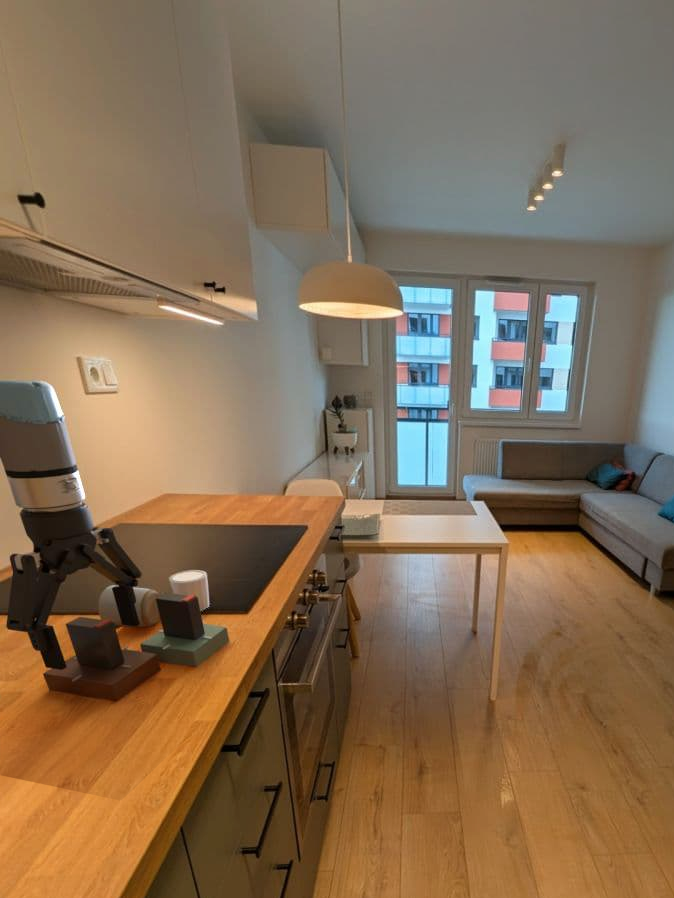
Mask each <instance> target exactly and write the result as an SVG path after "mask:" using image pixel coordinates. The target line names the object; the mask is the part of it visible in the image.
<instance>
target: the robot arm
mask: <svg viewBox="0 0 674 898" xmlns="http://www.w3.org/2000/svg"><path fill="white" fill-rule="evenodd" d="M65 419H66V416H65V413H64V412H63V410H62V407H61V405H60V402H59V399H58V397H57V393H56V391H55V389H54V386H52V385H51V384H50V383H48V382H47V381H45V380H39V379H27V380H26V379H0V460H1V463H2V466H3V469H4V473H5V475H6V478H7V482H8V484H9V487H10V491H11V494H12V497H13V500H14V503H15V506H16V507H18V508H21V510H20V512H19V516H20V519H21V523H22V526H23V528H24V531H25V534H26V536H27V537H28V539H29V540H30V541H31V542H32V546H33V547H32V548H33V550H32V552H27V553H23V554H21V553H12V554H10V555H9V561H10V567H11V570H12V577H11V584H10V591H9V601H8V609H7V615H6V625H5V627H6V629H7V630H9V631H15V632H22V633H27V635H28V638H29V641H30V643H31V646H32V648H33V650H34V651H37V652H40V655H41V658H42V661H43V664H44V666H45V668H47V669H52V668H53V669H59V670H63V669H65V668H66V667H67V666H66V663H65V661H66V659H65V658H64V655H63V652H62V648H61V646H60V643H59V640H58V638H57V634H56V631H55V628H54V626H53V625H50V624H47V623H48V620H49V617H50V615H51V612H52V609H53V606H54V603H55V601H56V599H57V596H58V594H59V593H58V592H59V590H60V587H61V584H62V583H63V582H65V581H66V579H67V577H68V575H73V574H75V573H76V572H78V571H79V570H85V569H87V568H91V569H92V570H94V571H95V572H97V573H99V574H100V575H102V576H103V577H105V578H106V579H108V580H109V581H111V582H112V583H114V585H115V587H113V588H112V590H113V594H114V598H115V601H116V605H117V608H118V612H119V615H120V619H121V623H122V625H129V626H138V625H140V623H139V619H138V615H137V612H136V608H135V603H136V597H135V593H134V590H133V587H135V588H137V587H138V585H139V580H138V579H140V578H142V571H141V570H140V569H139V568H138V567H137V565H136V563H134V562H133V560H132V558H130V556H129V555H128V554H127V553H126V551H125V550H124V549H123V547H122V546H121V545H120V543H119V542H118V541H117V539H116V536H115V533H114V530H113V529H112V528H110V527H102V526H95V525H94V521H93V517H92V514H91V511H90V507H89V504H87V503H86V502H84V501H85V500H86V494H85V490H84V487H83V483H82V479H81V476H80V472H79V469H78V464H77V461H76V458H75V454H74V450H73V447H72V442H71V438H70V436H69V431H68V427H67V424H66V421H65ZM97 546H98V547H99V548H100V550H101V551H102V552H103V553H104V555H105V556H106V557H107V558H108V559H109V560H110V562H109V561H108V560H106V557H105V556H103V555H102V554H100V553H99V552H98V551H97V550H96V547H97ZM50 572H53V573H50Z"/></svg>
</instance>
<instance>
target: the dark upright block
mask: <svg viewBox="0 0 674 898" xmlns="http://www.w3.org/2000/svg"><path fill="white" fill-rule="evenodd" d="M156 602H157V606H158V611H159V615H160V619H159V620H160V623H161V627H162V630H163V631H164V636H170V637H177V638H184V639H191V640H196V639H198V638H199V637H201V636H202V635H203V634H205V631H204V626H203V624H204V623H203V621H204V620H203V617H202V612H200V607H199V602H198V597H196V595H189V596H188V595H180V594H174V593H173V592H172V593H171V592H165V593H163V594H161V595H160V596H159V597H158V598H156Z"/></svg>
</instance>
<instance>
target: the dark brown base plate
mask: <svg viewBox="0 0 674 898" xmlns="http://www.w3.org/2000/svg"><path fill="white" fill-rule="evenodd" d="M128 648H129V646H128V645H127V646H125V647H123V648H121V650H122V653H123V657H124V660H125V662H123V663H121V664H120V665H118V666H117V667H115V668H114V669H112V670H111V669H105V668H99V667H92V666H86V665H80V664H78V661H77V658H76V654H74V655H73V656H71V657H69V658H67V659H65V663H66V666H67V667H66V668H65V669H63V670H59V669H53V668H49V669H48V670H46V671H44V672H43V673H42V675H43V677H44V681H45V683H46V686H47V689H48V691H52V692H58V693H65V694H69V695H75V696H82V697H85V698H94V699H99V700H105V701H109V702H118V701H120V700H121V699H123V698H124V697H126V696H127V695H128V694H130V693H131V692H133V691H134V690H135V689H137V688H138V687H139V686H141V685H142V684H143V683H145V682H146V681H148V680H149V679H151V678H152V677H153V676H154V675H156V674H157V673H158V672H160V671H162V668H161V663H160V662H159V660H158V656H157V654H154V653H147V652H142V650H141V651H139V650H133V649H128Z"/></svg>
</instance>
